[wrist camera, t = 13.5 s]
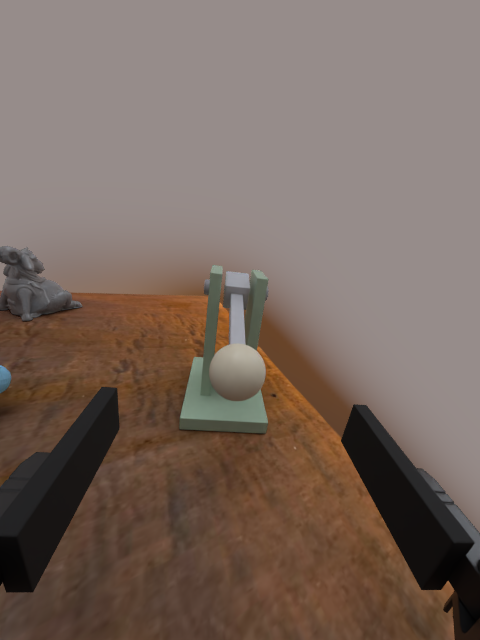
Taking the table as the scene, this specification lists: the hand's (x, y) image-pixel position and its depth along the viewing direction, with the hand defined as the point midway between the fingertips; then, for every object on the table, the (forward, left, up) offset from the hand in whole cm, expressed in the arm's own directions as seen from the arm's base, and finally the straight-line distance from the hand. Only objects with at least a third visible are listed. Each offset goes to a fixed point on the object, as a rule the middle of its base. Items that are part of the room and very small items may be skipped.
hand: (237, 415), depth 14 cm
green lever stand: (+12, -3, -8) cm, 14 cm away
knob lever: (+7, -2, +1) cm, 8 cm away
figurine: (+40, +23, -8) cm, 47 cm away
